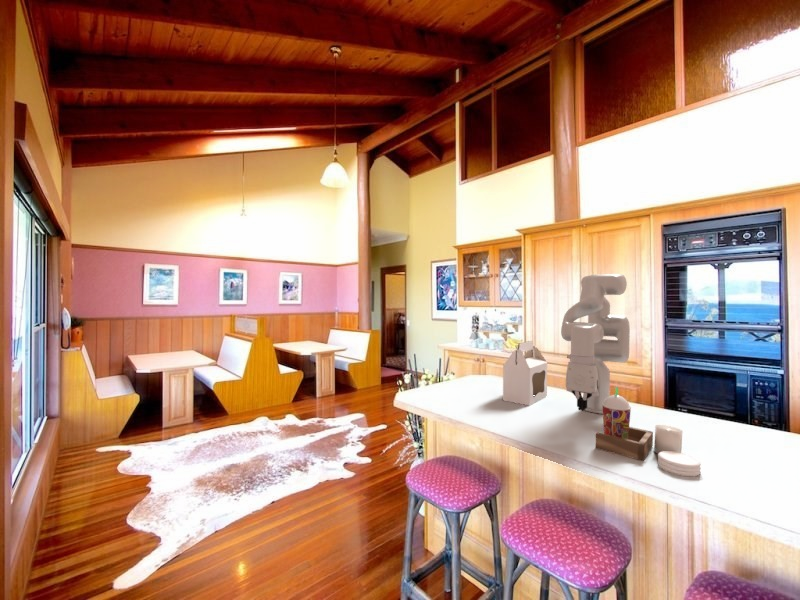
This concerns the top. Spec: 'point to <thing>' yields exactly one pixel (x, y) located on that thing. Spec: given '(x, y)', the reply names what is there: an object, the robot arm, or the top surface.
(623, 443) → the u rest
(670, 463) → the coaster
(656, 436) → the beige cylinder
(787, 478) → the top surface
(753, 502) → the top surface
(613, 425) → the smoothie
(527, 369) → the gable box
